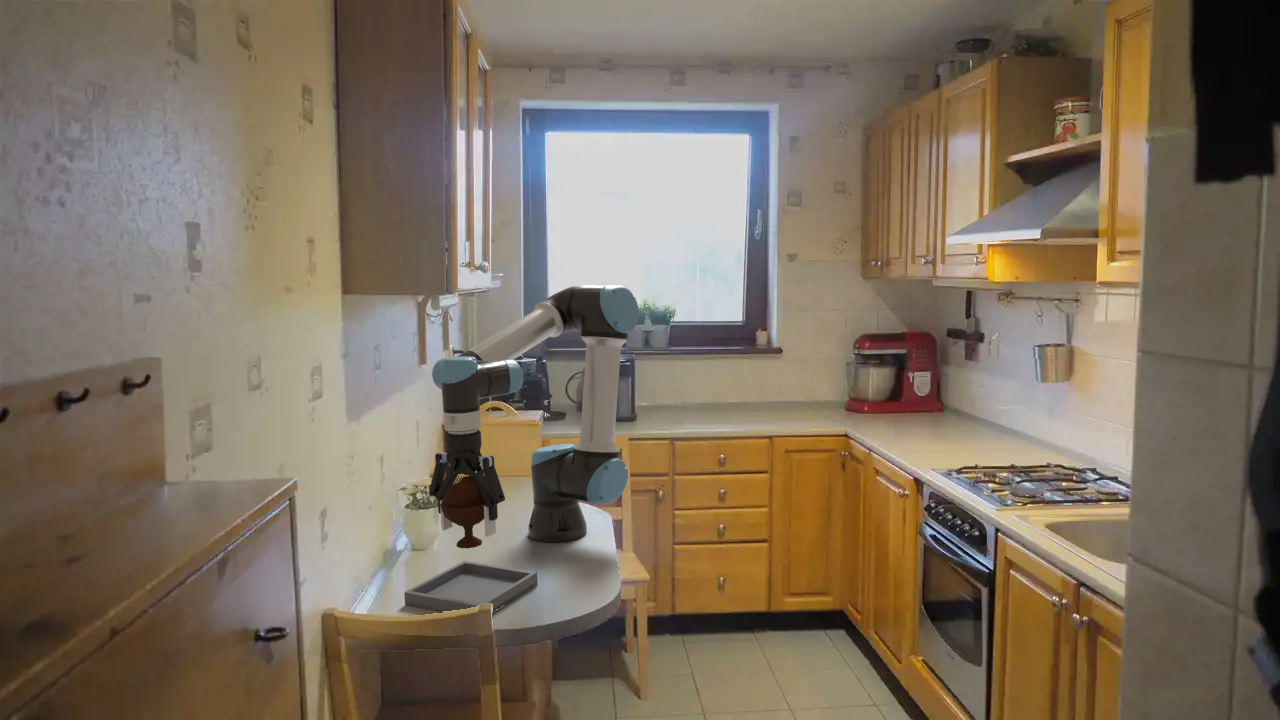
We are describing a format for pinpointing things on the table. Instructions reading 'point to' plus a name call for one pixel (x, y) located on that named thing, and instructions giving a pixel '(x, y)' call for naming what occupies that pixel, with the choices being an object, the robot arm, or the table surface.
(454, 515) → the ice cream bowl
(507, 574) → the tray
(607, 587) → the table surface
